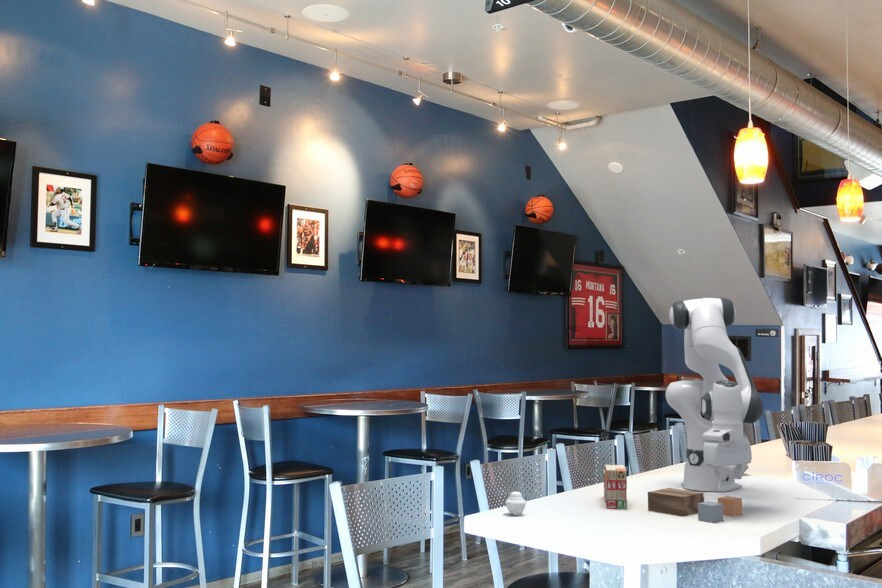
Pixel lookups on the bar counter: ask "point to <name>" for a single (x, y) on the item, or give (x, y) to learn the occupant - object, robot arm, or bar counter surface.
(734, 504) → the rust cube
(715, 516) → the grey cube
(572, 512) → the bar counter surface
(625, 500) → the stack of blocks
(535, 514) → the bar counter surface
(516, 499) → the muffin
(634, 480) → the bar counter surface
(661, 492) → the walnut block
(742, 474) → the die
